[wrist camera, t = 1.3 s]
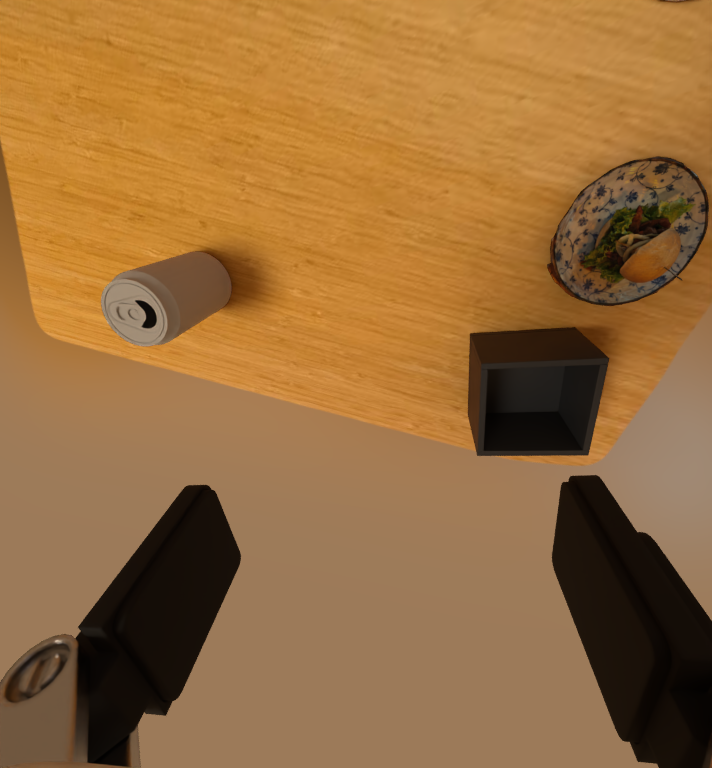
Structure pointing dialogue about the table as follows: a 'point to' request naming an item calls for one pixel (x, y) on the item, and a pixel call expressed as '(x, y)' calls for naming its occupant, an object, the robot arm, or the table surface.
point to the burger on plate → (630, 232)
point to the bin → (534, 392)
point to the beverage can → (165, 298)
